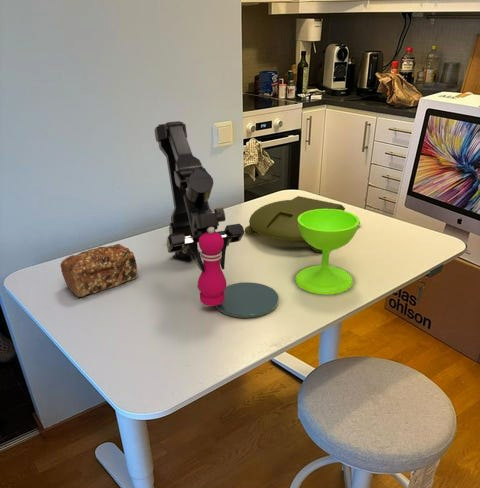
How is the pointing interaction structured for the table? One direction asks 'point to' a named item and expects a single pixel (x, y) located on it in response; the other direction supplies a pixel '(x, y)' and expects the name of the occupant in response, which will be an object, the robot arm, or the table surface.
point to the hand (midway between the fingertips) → (213, 270)
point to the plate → (248, 300)
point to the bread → (98, 269)
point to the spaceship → (285, 218)
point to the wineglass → (326, 248)
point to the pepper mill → (211, 268)
